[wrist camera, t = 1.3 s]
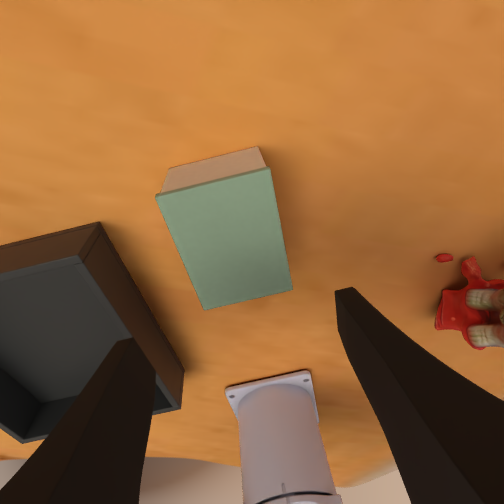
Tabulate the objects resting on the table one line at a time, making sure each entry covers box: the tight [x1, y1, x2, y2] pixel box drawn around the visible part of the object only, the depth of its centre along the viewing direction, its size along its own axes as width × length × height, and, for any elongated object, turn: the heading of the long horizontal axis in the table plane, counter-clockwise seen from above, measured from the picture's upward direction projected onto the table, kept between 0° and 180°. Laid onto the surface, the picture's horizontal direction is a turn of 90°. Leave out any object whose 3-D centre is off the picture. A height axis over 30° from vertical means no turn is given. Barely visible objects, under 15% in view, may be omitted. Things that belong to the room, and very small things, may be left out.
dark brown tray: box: [0, 222, 184, 444], centre depth 21 cm, size 15×13×4 cm
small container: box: [155, 146, 293, 310], centre depth 17 cm, size 7×5×4 cm
